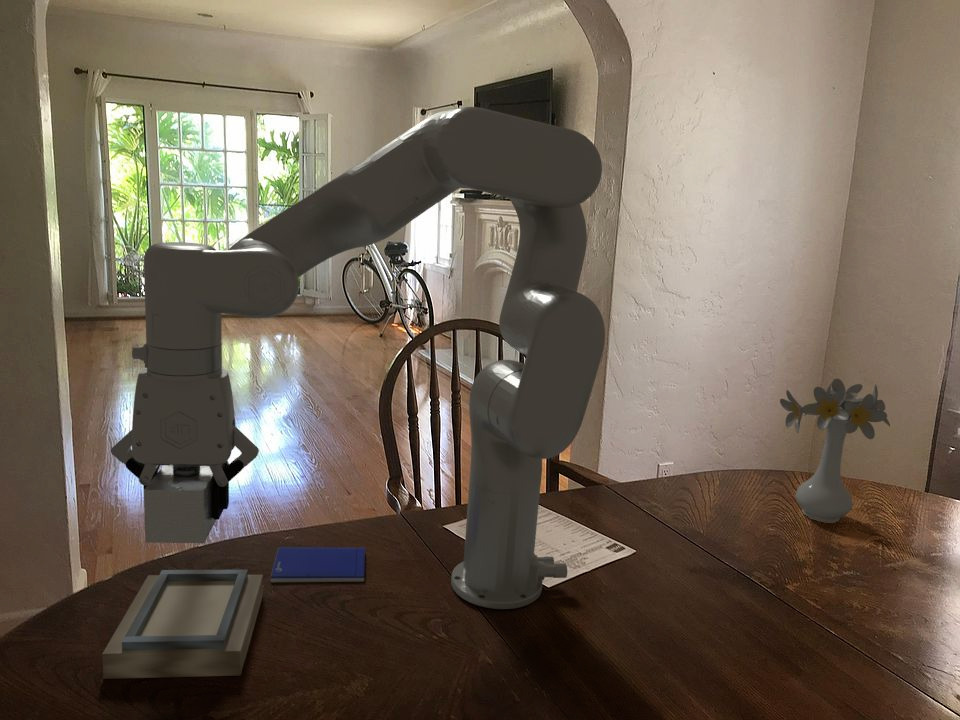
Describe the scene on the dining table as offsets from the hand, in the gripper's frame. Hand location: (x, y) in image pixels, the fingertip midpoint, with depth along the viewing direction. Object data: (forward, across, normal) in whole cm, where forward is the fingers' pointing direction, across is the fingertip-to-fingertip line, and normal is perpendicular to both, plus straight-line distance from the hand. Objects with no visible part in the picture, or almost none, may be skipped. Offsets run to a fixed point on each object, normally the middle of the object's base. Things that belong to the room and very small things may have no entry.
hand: (187, 512), depth 83 cm
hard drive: (+16, +14, +16) cm, 26 cm away
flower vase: (+15, +100, +32) cm, 106 cm away
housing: (+1, 0, 0) cm, 1 cm away
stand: (+15, 0, 0) cm, 15 cm away
